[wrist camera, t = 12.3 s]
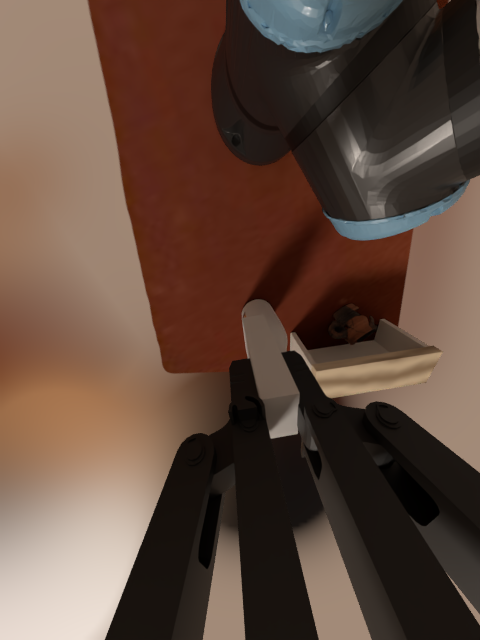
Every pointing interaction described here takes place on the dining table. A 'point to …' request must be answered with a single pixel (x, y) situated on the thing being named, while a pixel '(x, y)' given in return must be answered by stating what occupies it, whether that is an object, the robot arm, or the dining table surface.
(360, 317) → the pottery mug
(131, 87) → the dining table surface
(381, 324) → the small wooden bench
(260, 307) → the milk bottle
